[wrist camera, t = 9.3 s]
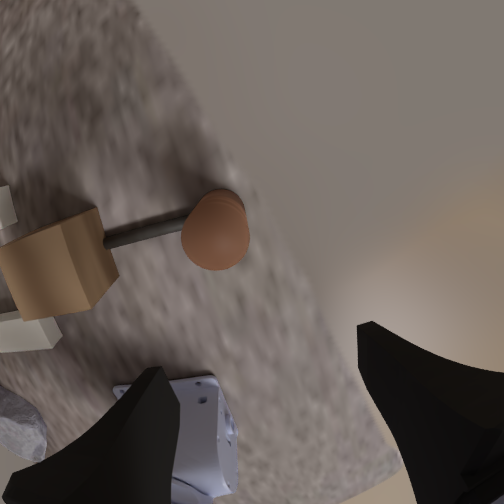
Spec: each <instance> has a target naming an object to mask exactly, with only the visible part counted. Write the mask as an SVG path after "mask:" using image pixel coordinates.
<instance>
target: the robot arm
mask: <svg viewBox="0 0 504 504" xmlns="http://www.w3.org/2000/svg"><path fill="white" fill-rule="evenodd" d="M357 345H358V368H359V371H360V373H361V376H362V378H363V381H364V383H365V386H366V388H367V390H368V392H369V394H370V396H371V397H372V399H373V401H374V403H375V404H376V406H377V408H378V410H379V411H380V413H381V415H382V417H383V418H384V420H385V421H386V424H387V425H388V427H389V429H390V430H391V433H392V435H393V437H394V438H395V441H396V443H397V446H398V448H399V451H400V453H401V456H402V458H403V461H404V464H405V467H406V470H407V472H408V475H409V478H410V481H411V484H412V488H413V491H414V494H415V498H416V501H417V504H504V373H502V372H494V371H489V370H484V369H479V368H475V367H470V366H467V365H463V364H460V363H457V362H454V361H451V360H448V359H445V358H443V357H440V356H438V355H435V354H433V353H431V352H429V351H427V350H424V349H422V348H420V347H418V346H416V345H414V344H412V343H410V342H409V341H407V340H405V339H403V338H401V337H399V336H398V335H396V334H394V333H392V332H391V331H389V330H387V329H386V328H384V327H382V326H380V325H378V324H377V323H375V322H373V321H370V322H367V323H364V324H360V325H357ZM197 382H200V383H197ZM122 390H124V391H122ZM113 393H114V394H115V396H116V397H117V399H118V401H117V402H116V403H115V404H114V405H113V406H112V407H111V408H110V409H109V411H108V412H107V413H106V414H105V415H104V416H103V417H102V418H101V419H100V420H99V421H98V422H97V423H96V424H94V425H93V426H92V427H91V428H90V429H89V430H88V431H86V432H85V433H84V434H83V435H82V436H80V437H79V438H78V439H76V440H75V441H73V442H72V443H71V444H69V445H68V446H66V447H65V448H63V449H62V450H60V451H59V452H57V453H55V454H54V455H52V456H50V457H48V458H47V459H45V460H43V461H41V462H39V463H37V464H34V465H32V466H30V467H27V468H25V469H22V470H20V471H17V472H14V473H13V474H12V475H11V477H10V480H9V482H8V484H7V486H6V489H5V491H4V493H3V495H2V499H3V500H4V502H5V503H6V504H213V498H215V497H218V496H222V495H227V494H231V493H234V492H236V490H237V485H238V461H237V435H238V429H237V427H236V424H235V422H234V420H233V417H232V415H231V413H230V410H229V408H228V405H227V403H226V400H225V398H224V395H223V393H222V390H221V388H220V385H219V383H218V380H217V378H216V377H215V376H213V375H207V376H200V377H193V378H186V379H179V380H171V381H169V380H168V378H167V376H166V374H165V372H164V370H163V368H162V366H159V367H151V368H147V369H146V370H145V371H144V372H143V373H142V374H141V375H140V376H139V377H138V378H137V379H136V380H135V382H134V383H133V384H131V385H118V386H114V388H113Z"/></svg>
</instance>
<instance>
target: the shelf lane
mask: <svg viewBox="0 0 504 504" xmlns="http://www.w3.org/2000/svg"><path fill="white" fill-rule="evenodd" d="M16 222H18V220H17V216H16V213H15V209H14V205H13V201H12V197H11V193H10V189H9V185H7V186H3V187H0V230H1V229H3V228H5V227H8V226H10V225H12V224H14V223H16ZM62 336H63V335H62V333H61V331H60V329H59V327H58V325H57V323H56V321H55V319H54V317H48V318H42V319H37V320H31V321H26V322H24V321H23V319H22V317H21V315H20V313H19V310H17V311H12V312H7V313H2V314H0V353H5V352H19V351H32V350H43V349H53V347H54V346H55V345H56V344H57V342H58V341H59V340H60V338H61V337H62Z"/></svg>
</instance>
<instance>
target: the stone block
mask: <svg viewBox="0 0 504 504" xmlns="http://www.w3.org/2000/svg"><path fill="white" fill-rule="evenodd" d="M46 430H47V427H46V424H45V423H44V421H43V418H42V417H41V415H40V413H39V411H38V410H37V409H36V407H34V406H33V405H32V404H30V403H29V402H27V401H26V400H25V399H23V398H22V397H20V396H18V395H16V394H14V393H12V392H11V391H8V390H6V389H5V388H3V387H2V386H0V443H1V444H2V445H3V446H4V447H6V448H7V449H8V450H9V451H11V452H13V453H14V454H16V455H18V456H20V457H21V458H24V459H27V460H31V461H33V462H36V461H37V462H41V461H43V460H44V458H45V452H46V447H47V439H46Z"/></svg>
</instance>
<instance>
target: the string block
mask: <svg viewBox="0 0 504 504" xmlns="http://www.w3.org/2000/svg"><path fill="white" fill-rule="evenodd" d="M181 230H182V232H181V241H182V246H183V249H184V251H185V253H186V255H187V256H188V257H189V259H190V260H191V261H192V262H194V263H195V264H196V265H198V266H200V267H202V268H204V269H208V270H224V269H228V268H230V267H232V266H234V265H235V264H237V263H238V262H239V261H240V260H241V259H242V258H243V257H244V255H245V253H246V252H247V249H248V246H249V241H250V234H249V228H248V223H247V218H246V213H245V208H244V204H243V202H242V200H241V199H240V198H239V196H238V195H236V194H235V193H234V192H232V191H229V190H226V189H216V190H212V191H210V192H208V193H207V194H206V195H204V196H203V198H202V199H201V200H200V201H199V203H198V204H197V205H196V207H195V208H194V209H193V211H192V212H191V214H190V215H187V216H183V217H179V218H176V219H172V220H168V221H164V222H160V223H157V224H153V225H149V226H145V227H142V228H138V229H135V230H131V231H127V232H124V233H120V234H117V235H113V236H110V237H106V235H105V232H104V229H103V225H102V222H101V219H100V215H99V212H98V208H97V207H96V208H93V209H90V210H87V211H84V212H82V213H79V214H76V215H73V216H70V217H68V218H65V219H62V220H59V221H57V222H54V223H51V224H49V225H46V226H44V227H41V228H39V229H36V230H34V231H32V232H30V233H27V234H25V235H23V236H21V237H19V238H17V239H15V240H13V241H11V242H9V243H7V244H5V245H4V246H2V247H0V267H1V270H2V272H3V275H4V277H5V280H6V283H7V285H8V287H9V290H10V292H11V295H12V297H13V299H14V302H15V304H16V306H17V308H18V310H19V313H20V315H21V317H22V319H23V321H24V322H26V321H31V320H37V319H42V318H48V317H53V316H59V315H64V314H70V313H75V312H80V311H86V310H91V309H92V308H93V307H94V306H95V304H96V303H97V302H98V301H99V300H100V298H101V297H102V296H103V295H104V294H105V292H106V291H107V290H108V289H109V288H110V286H111V285H112V284H113V283H114V282H115V281H116V279H117V278H118V277H119V273H118V270H117V268H116V265H115V262H114V259H113V256H112V253H111V250H110V249H112V248H115V247H119V246H123V245H126V244H130V243H134V242H138V241H141V240H145V239H149V238H153V237H157V236H161V235H165V234H169V233H173V232H177V231H181Z"/></svg>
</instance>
